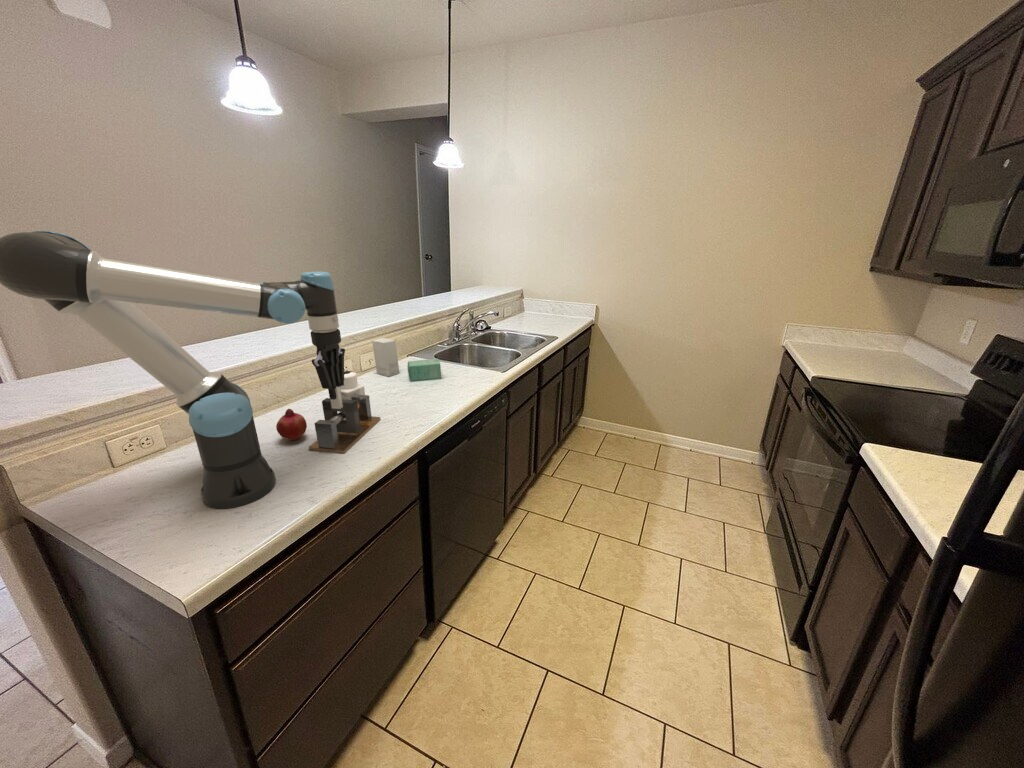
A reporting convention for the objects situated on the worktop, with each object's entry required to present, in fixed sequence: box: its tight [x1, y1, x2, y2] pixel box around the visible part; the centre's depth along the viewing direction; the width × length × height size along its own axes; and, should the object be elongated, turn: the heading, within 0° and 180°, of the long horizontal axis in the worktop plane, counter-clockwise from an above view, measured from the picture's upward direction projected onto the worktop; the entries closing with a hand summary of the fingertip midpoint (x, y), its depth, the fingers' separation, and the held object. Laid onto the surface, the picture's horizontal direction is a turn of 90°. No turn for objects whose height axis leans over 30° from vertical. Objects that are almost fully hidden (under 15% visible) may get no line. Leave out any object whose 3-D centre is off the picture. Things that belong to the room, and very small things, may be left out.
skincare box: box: [371, 337, 400, 378], centre depth 181 cm, size 8×7×16 cm
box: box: [407, 358, 442, 383], centre depth 178 cm, size 7×14×8 cm, turn 108°
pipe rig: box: [308, 394, 381, 455], centre depth 127 cm, size 23×11×9 cm, turn 171°
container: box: [340, 370, 366, 400], centre depth 147 cm, size 8×8×13 cm
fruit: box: [275, 408, 308, 441], centre depth 124 cm, size 8×8×10 cm
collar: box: [321, 397, 361, 434], centre depth 125 cm, size 2×10×10 cm, turn 81°
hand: (337, 407), depth 122 cm, fingers closed
